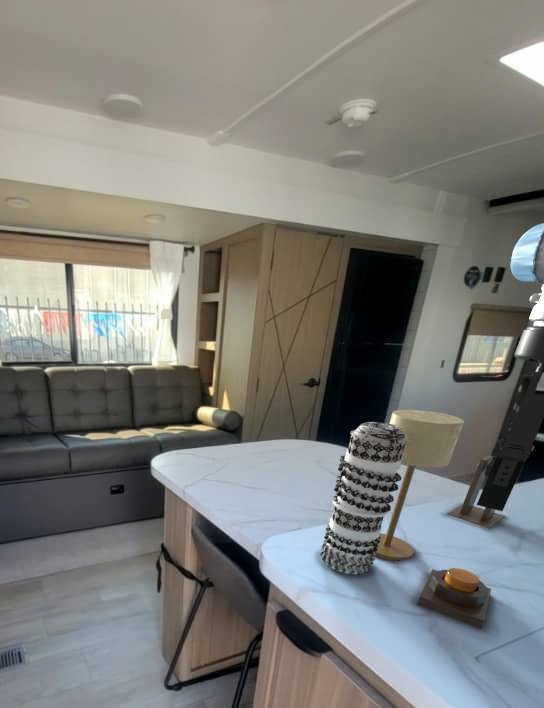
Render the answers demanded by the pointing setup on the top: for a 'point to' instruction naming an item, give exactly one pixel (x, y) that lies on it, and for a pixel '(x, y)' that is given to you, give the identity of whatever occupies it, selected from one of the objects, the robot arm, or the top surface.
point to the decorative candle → (363, 496)
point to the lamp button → (461, 579)
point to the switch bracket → (467, 508)
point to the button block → (455, 600)
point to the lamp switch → (494, 460)
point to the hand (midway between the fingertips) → (494, 493)
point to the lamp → (418, 464)
